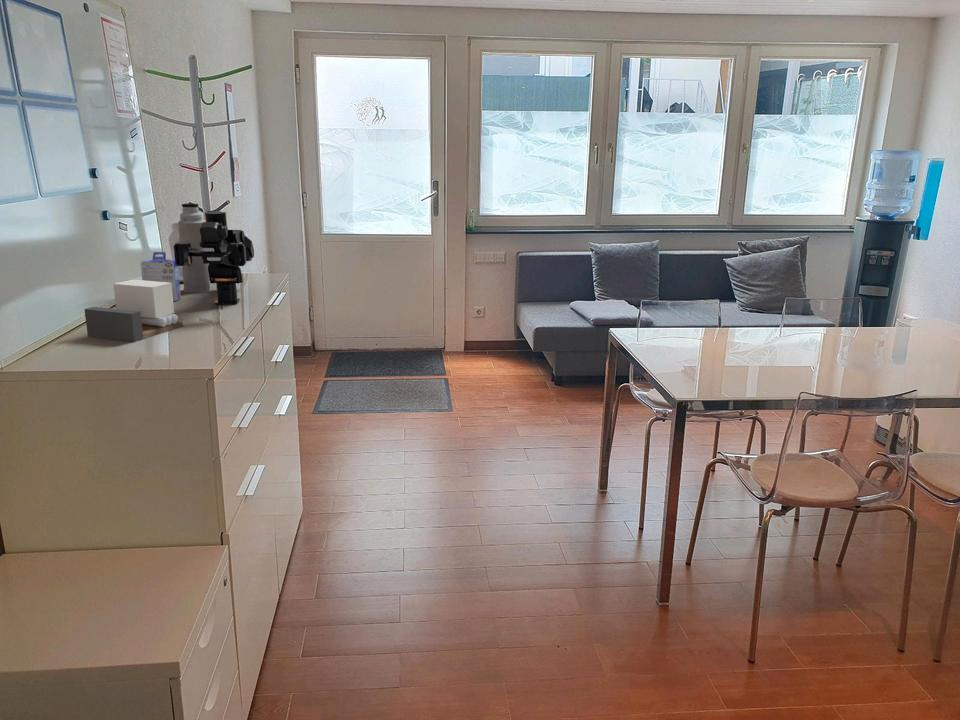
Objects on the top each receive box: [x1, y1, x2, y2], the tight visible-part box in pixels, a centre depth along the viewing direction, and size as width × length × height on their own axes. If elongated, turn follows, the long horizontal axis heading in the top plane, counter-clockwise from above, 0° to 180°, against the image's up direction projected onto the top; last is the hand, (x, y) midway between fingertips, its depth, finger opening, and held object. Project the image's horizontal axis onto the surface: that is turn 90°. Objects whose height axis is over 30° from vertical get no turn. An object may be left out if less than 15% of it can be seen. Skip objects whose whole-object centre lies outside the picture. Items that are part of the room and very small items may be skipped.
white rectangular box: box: [112, 279, 179, 327], centre depth 195 cm, size 7×14×10 cm, turn 73°
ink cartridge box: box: [140, 251, 182, 302], centre depth 229 cm, size 10×6×14 cm, turn 100°
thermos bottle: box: [177, 202, 211, 294], centre depth 242 cm, size 8×8×28 cm
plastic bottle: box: [168, 222, 184, 284], centre depth 256 cm, size 6×7×20 cm
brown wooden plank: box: [142, 320, 184, 340], centre depth 193 cm, size 18×14×1 cm
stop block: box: [83, 306, 144, 343], centre depth 185 cm, size 3×14×7 cm, turn 73°
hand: (203, 260), depth 200 cm, fingers open, 9 cm apart
